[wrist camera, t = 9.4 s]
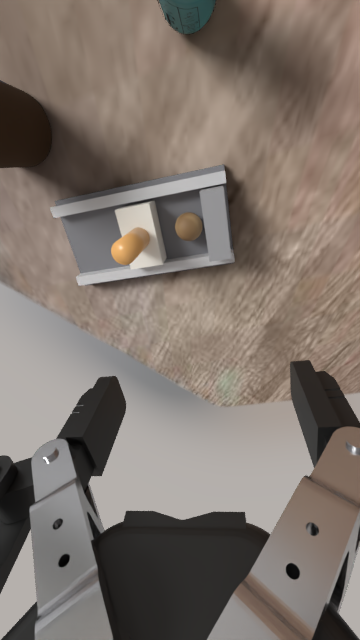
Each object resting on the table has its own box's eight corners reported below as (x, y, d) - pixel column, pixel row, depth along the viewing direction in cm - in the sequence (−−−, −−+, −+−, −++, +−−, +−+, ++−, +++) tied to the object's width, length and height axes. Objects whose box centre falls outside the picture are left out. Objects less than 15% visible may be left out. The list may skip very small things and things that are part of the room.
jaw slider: (154, 200, 42) (134, 210, 31) (166, 257, 46) (152, 283, 35) (122, 206, 43) (92, 218, 32) (137, 262, 47) (114, 289, 36)
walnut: (200, 208, 42) (199, 211, 38) (204, 235, 44) (203, 241, 40) (174, 213, 43) (170, 217, 39) (179, 239, 44) (176, 245, 41)
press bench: (223, 164, 40) (225, 163, 34) (234, 260, 46) (237, 275, 40) (59, 200, 45) (32, 205, 38) (88, 282, 51) (69, 299, 45)
